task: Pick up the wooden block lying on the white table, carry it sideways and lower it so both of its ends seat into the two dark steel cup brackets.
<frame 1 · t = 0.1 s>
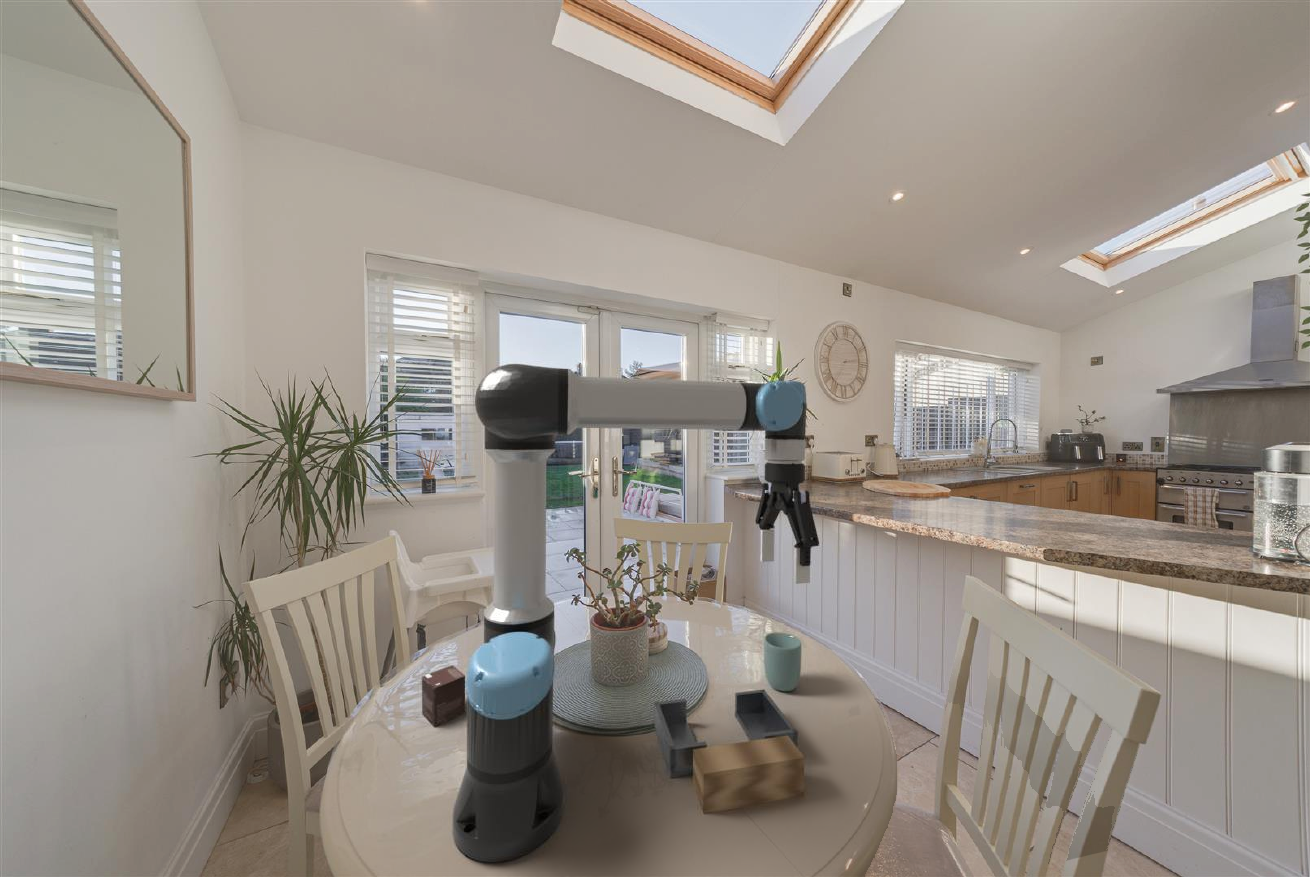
hand: (783, 571, 87), 28 cm above the table, fingers open, 13 cm apart
bracket right: (763, 735, 81), on the table
bracket left: (678, 748, 77), on the table
cup: (782, 687, 97), on the table
wooden block: (747, 792, 68), on the table
box: (443, 714, 86), on the table
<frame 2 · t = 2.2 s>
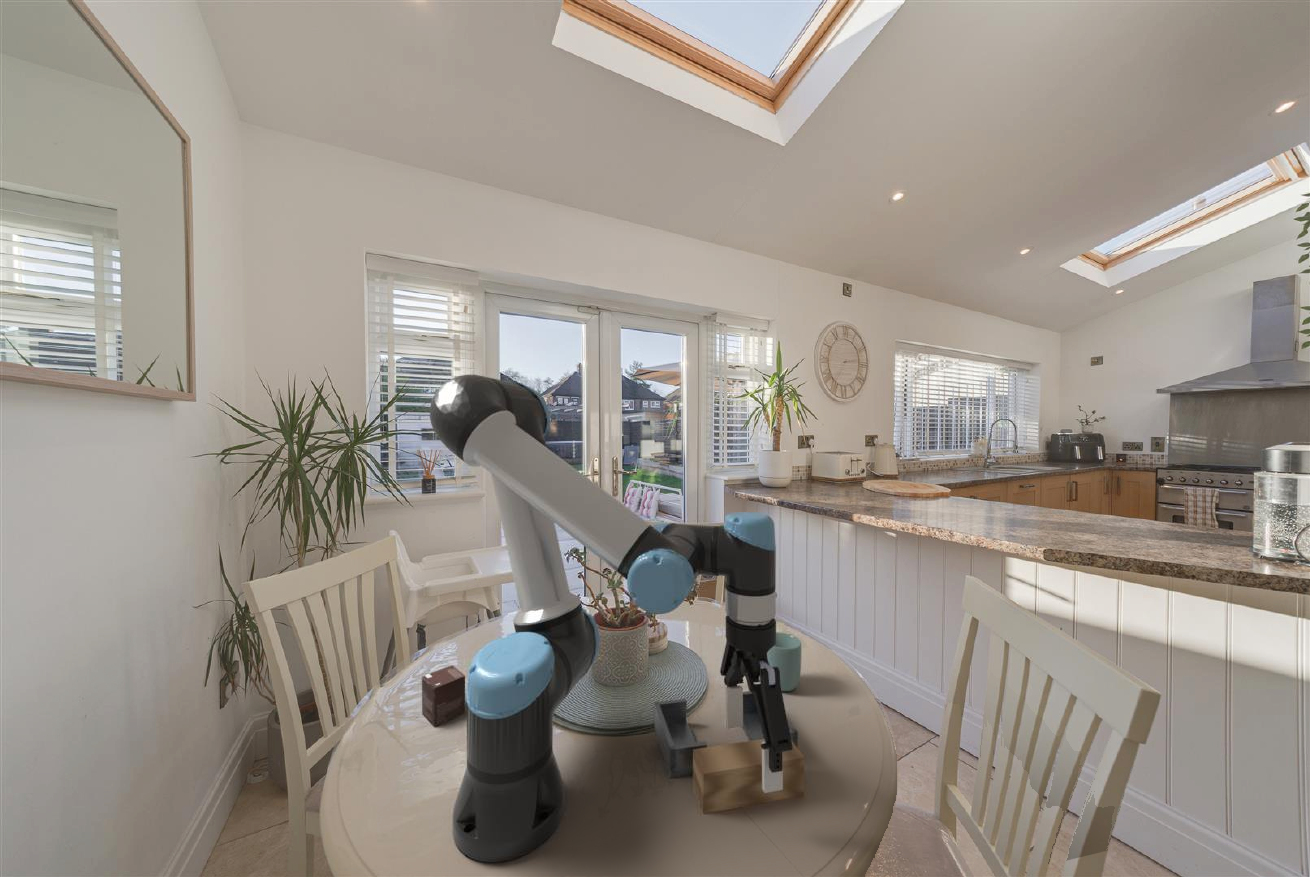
hand: (751, 755, 68), 6 cm above the table, fingers open, 13 cm apart
nothing on the table moved.
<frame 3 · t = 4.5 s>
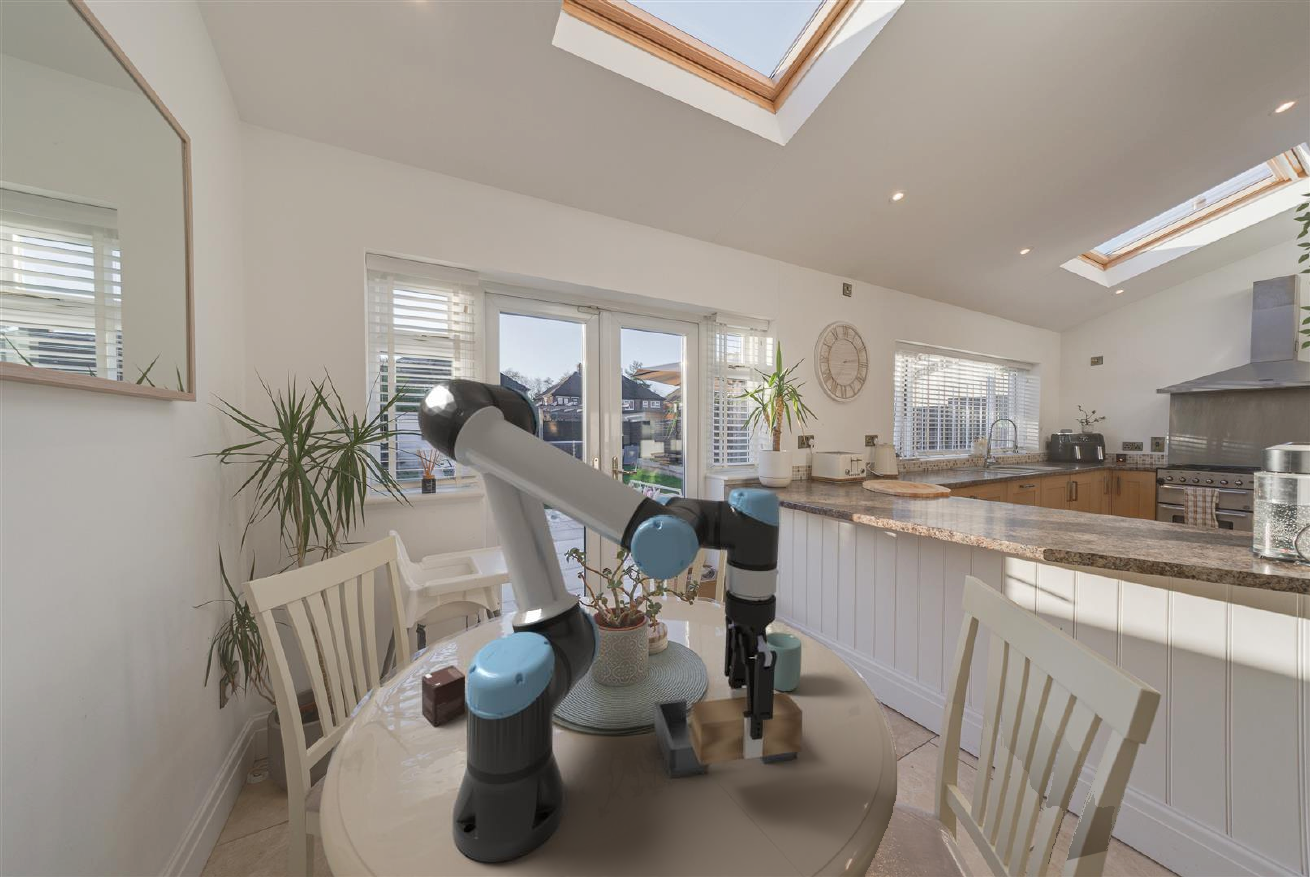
hand: (744, 742, 68), 7 cm above the table, fingers closed on wooden block, 5 cm apart
wooden block: (745, 745, 68), point 7 cm above the table, touching gripper
everything else where it was.
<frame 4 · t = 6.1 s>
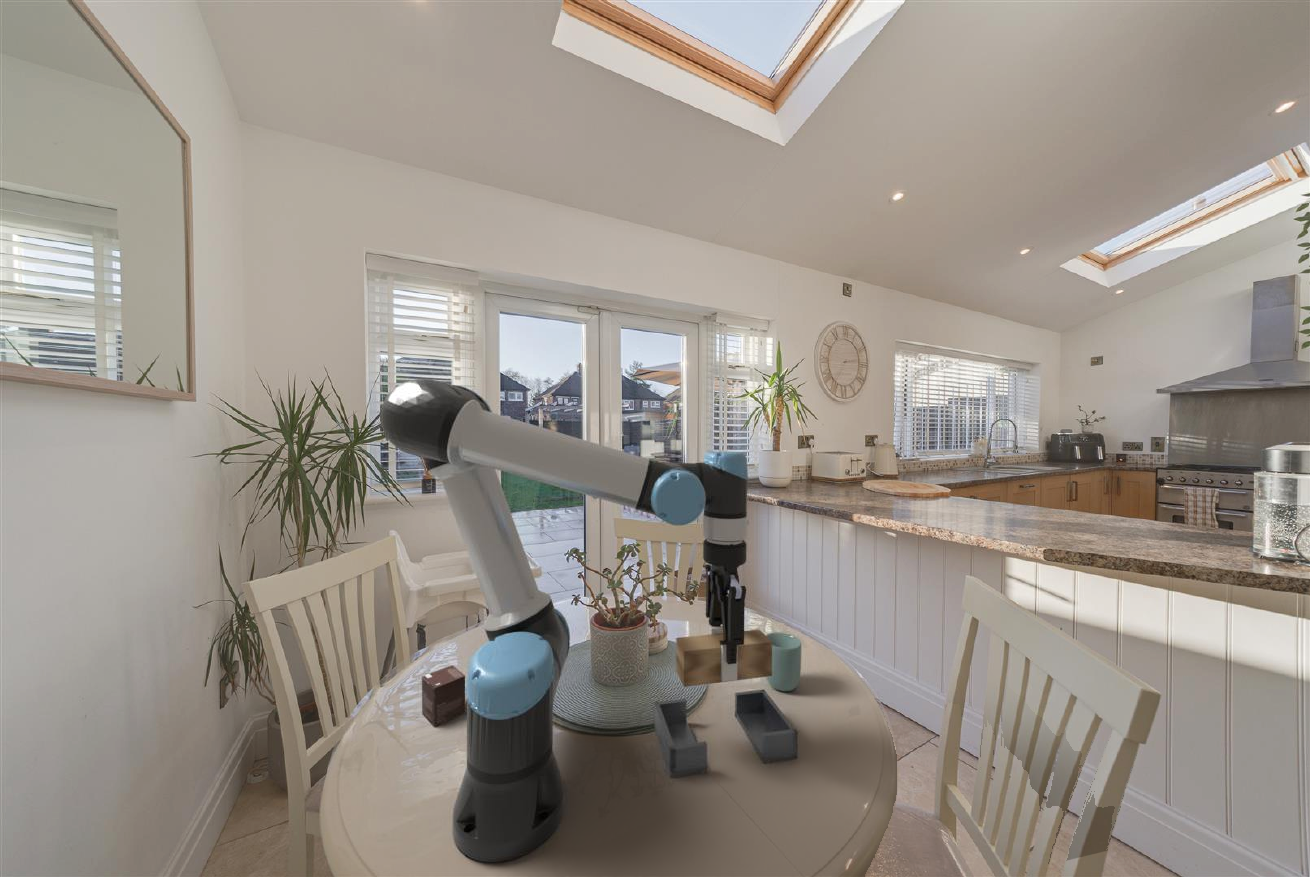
hand: (722, 670, 79), 13 cm above the table, fingers closed on wooden block, 5 cm apart
wooden block: (723, 673, 79), point 12 cm above the table, touching gripper
everything else where it was.
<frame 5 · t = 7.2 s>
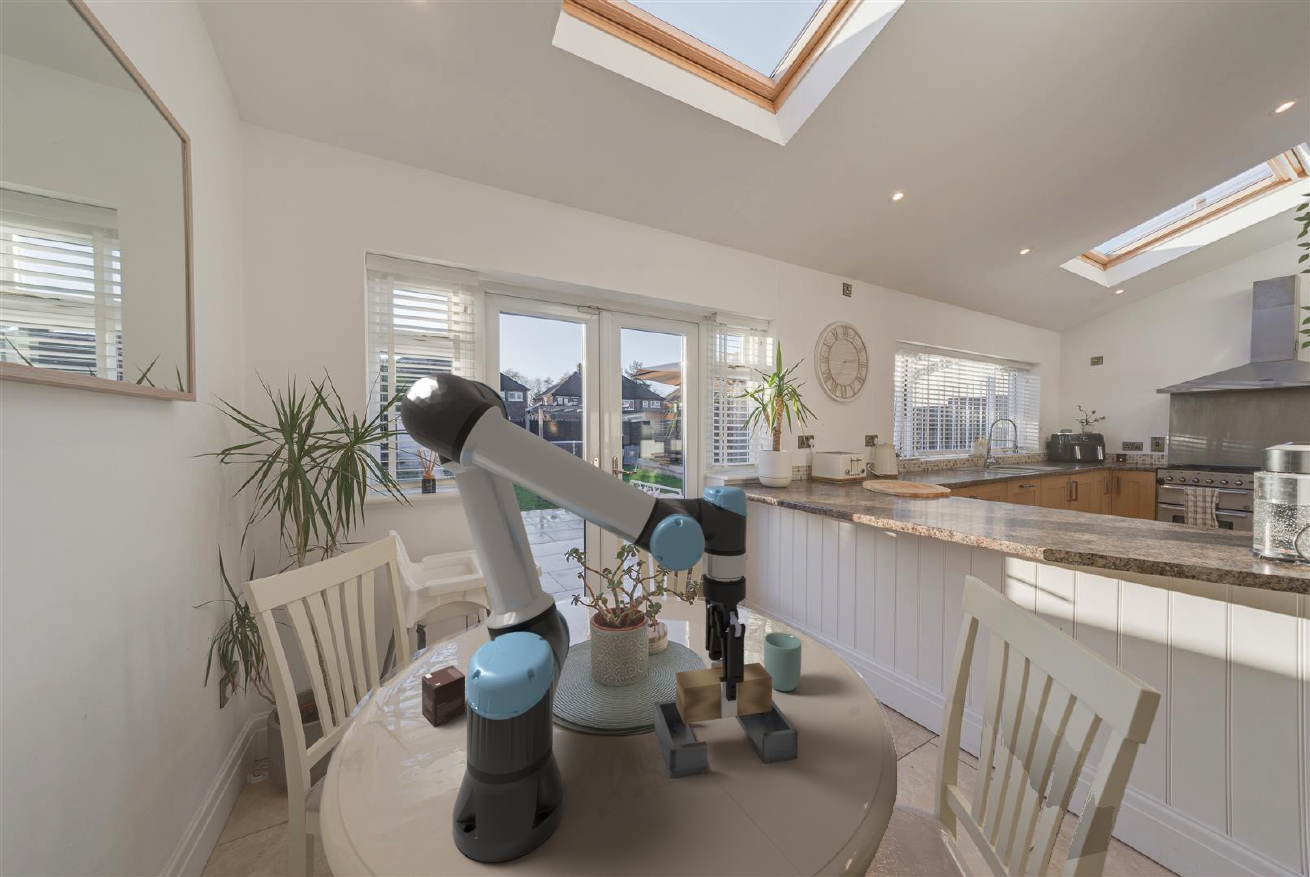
hand: (722, 705, 79), 6 cm above the table, fingers closed on wooden block, 5 cm apart
wooden block: (723, 708, 79), point 6 cm above the table, touching gripper
everything else where it was.
when the fingers open (3 cm above the table, at t = 8.1 s): wooden block drops 2 cm, resting on bracket left, bracket right.
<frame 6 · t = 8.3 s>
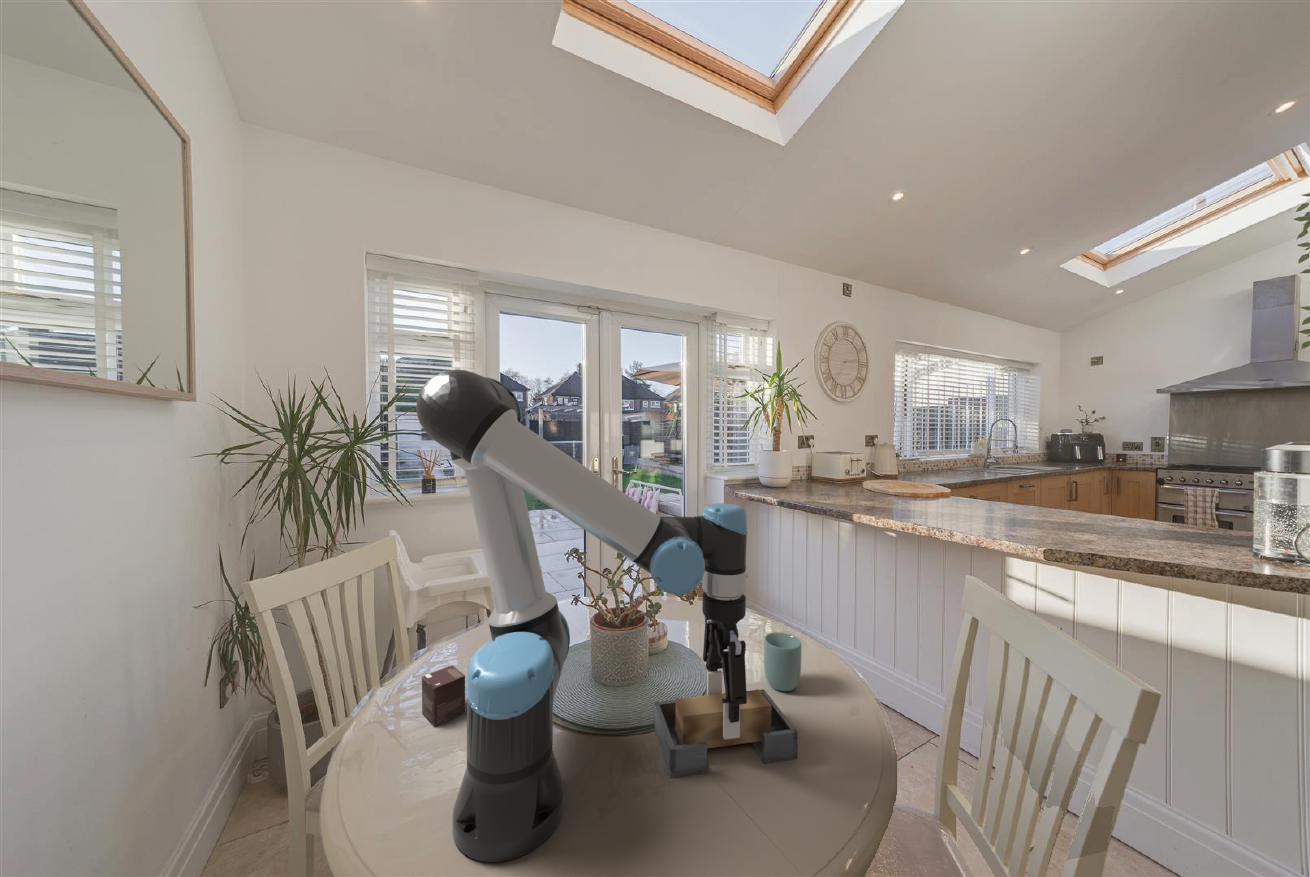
hand: (722, 721, 79), 4 cm above the table, fingers open, 8 cm apart
wooden block: (722, 735, 79), point 1 cm above the table, touching bracket left, bracket right
everything else where it was.
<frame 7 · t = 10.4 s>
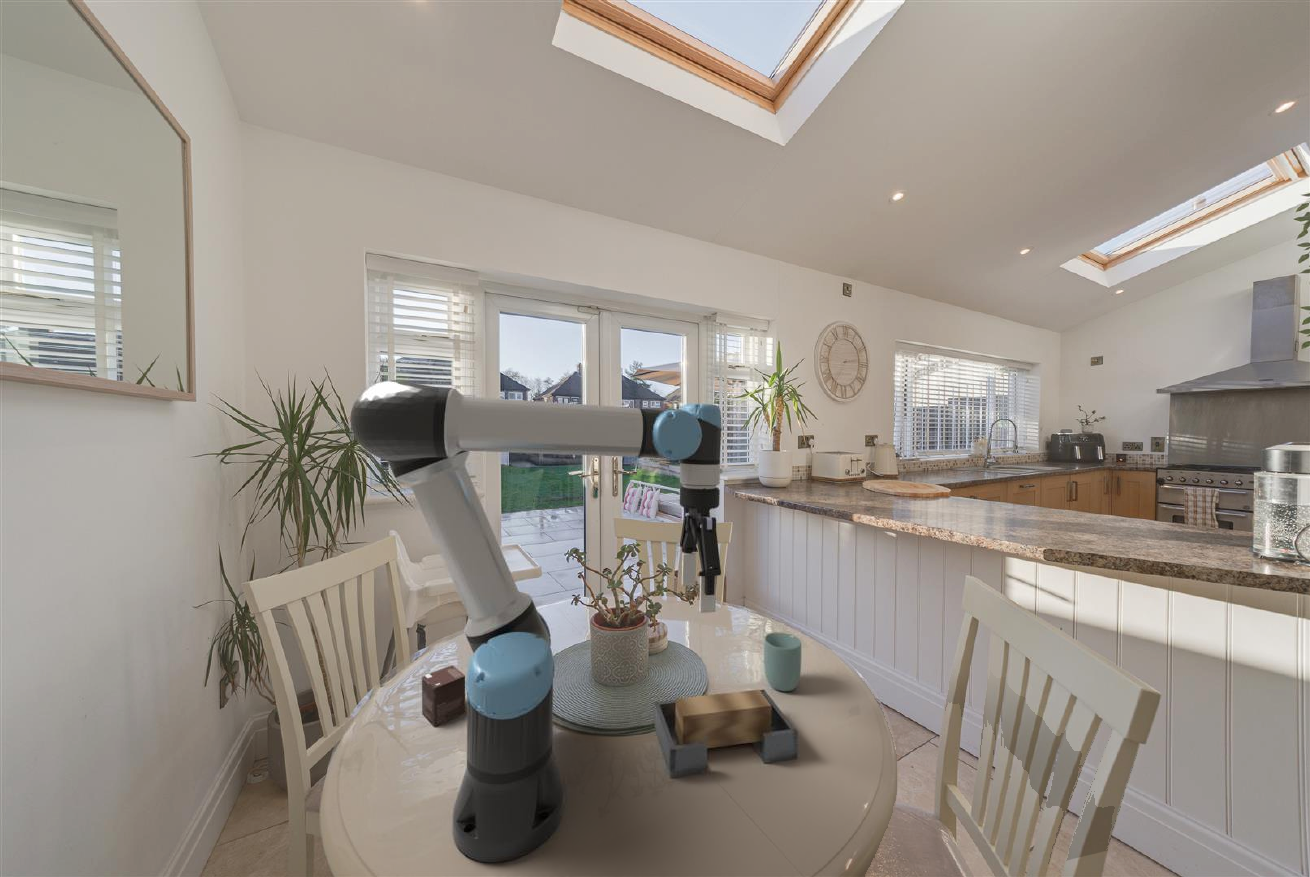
hand: (697, 597, 85), 23 cm above the table, fingers open, 13 cm apart
nothing on the table moved.
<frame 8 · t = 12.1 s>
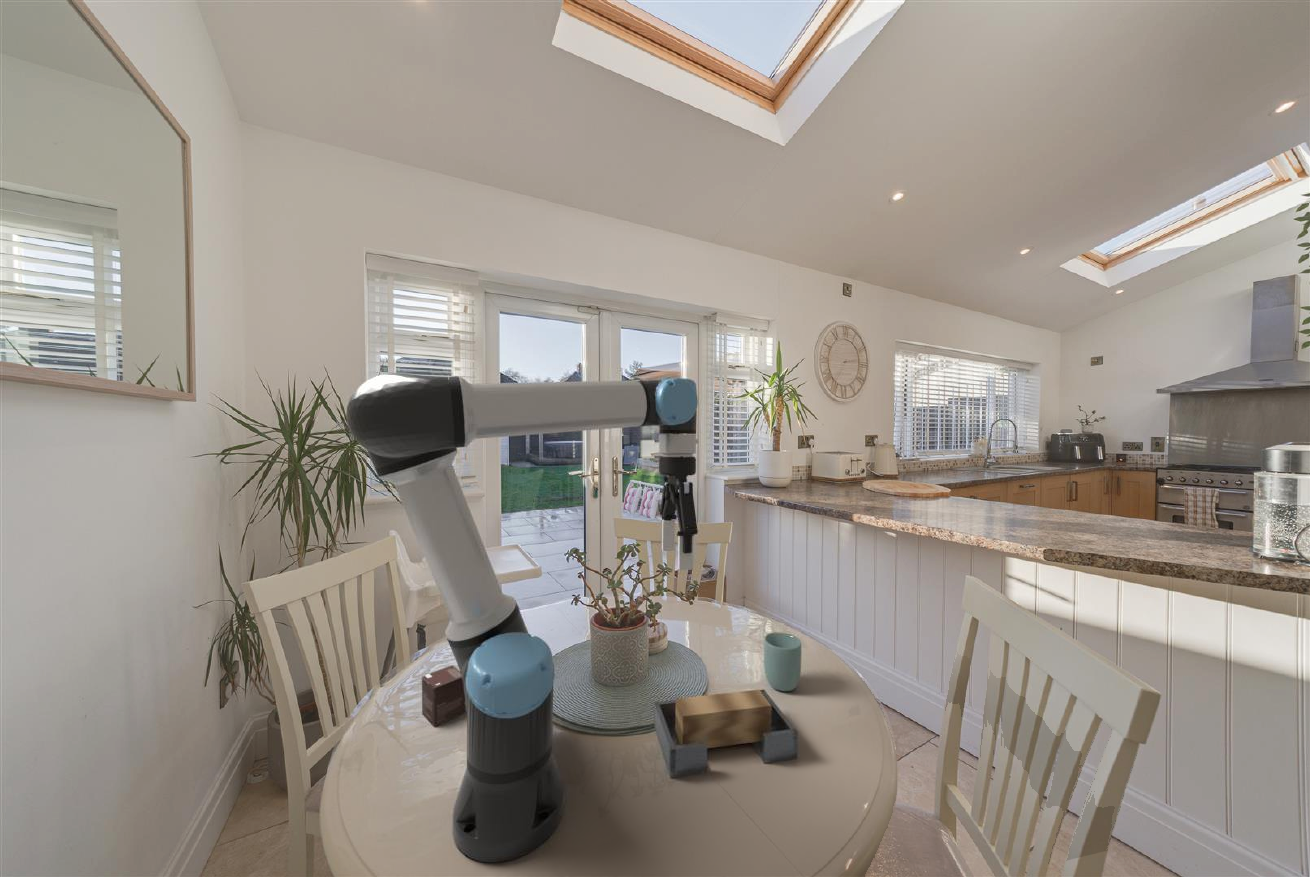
hand: (676, 559, 91), 29 cm above the table, fingers open, 13 cm apart
nothing on the table moved.
at the end: wooden block inside the target area (0.1 cm from its centre), point 1.0 cm above the table; wooden block tilted 0°; the gripper is holding nothing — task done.
